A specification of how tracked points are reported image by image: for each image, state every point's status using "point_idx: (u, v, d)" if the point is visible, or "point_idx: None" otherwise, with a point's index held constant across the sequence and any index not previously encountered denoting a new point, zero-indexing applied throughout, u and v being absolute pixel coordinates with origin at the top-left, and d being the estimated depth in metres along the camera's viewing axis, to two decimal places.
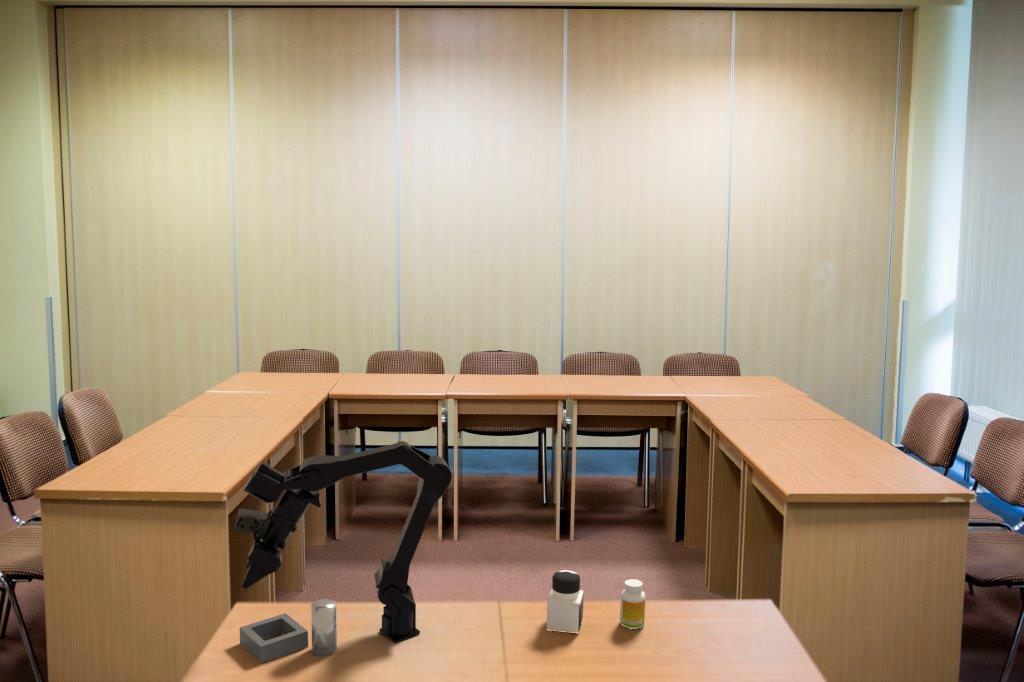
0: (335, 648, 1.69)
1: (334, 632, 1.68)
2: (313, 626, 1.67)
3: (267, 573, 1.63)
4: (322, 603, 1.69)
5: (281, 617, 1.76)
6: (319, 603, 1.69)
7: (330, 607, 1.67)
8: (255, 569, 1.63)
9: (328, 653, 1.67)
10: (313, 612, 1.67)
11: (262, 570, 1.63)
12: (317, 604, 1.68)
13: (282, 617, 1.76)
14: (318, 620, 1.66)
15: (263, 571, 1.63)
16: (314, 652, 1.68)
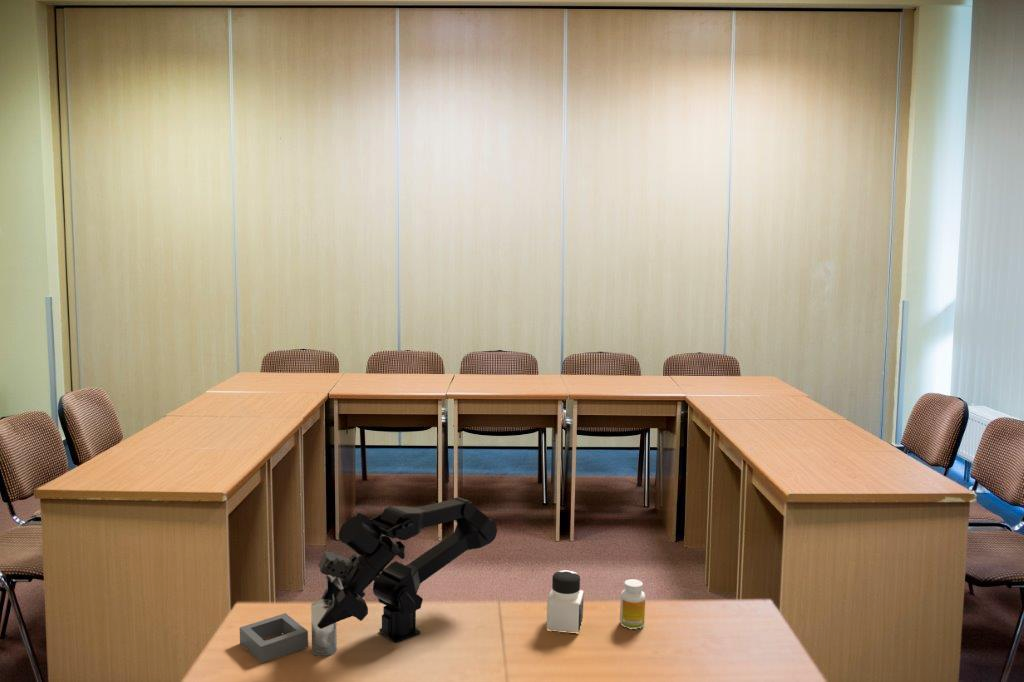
0: (335, 648, 1.69)
1: (334, 632, 1.68)
2: (312, 626, 1.67)
3: (347, 616, 1.66)
4: (322, 602, 1.69)
5: (281, 617, 1.76)
6: (319, 603, 1.69)
7: None
8: (335, 611, 1.65)
9: (328, 653, 1.67)
10: (313, 612, 1.67)
11: (342, 612, 1.66)
12: (317, 604, 1.68)
13: (282, 617, 1.76)
14: (318, 620, 1.66)
15: (343, 613, 1.65)
16: (314, 652, 1.68)
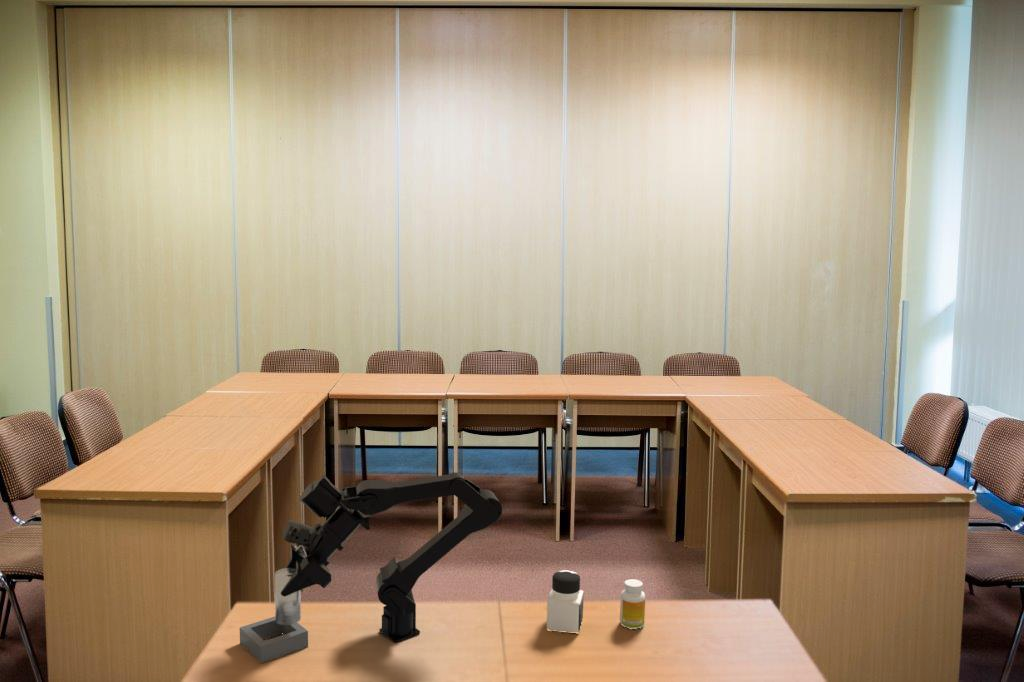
0: (299, 616, 1.69)
1: (298, 600, 1.68)
2: (276, 594, 1.67)
3: (310, 584, 1.66)
4: (286, 571, 1.69)
5: None
6: (283, 571, 1.69)
7: None
8: (299, 579, 1.65)
9: (291, 621, 1.67)
10: (277, 580, 1.66)
11: (306, 580, 1.66)
12: (281, 572, 1.68)
13: None
14: (281, 588, 1.66)
15: (307, 581, 1.66)
16: (277, 620, 1.68)
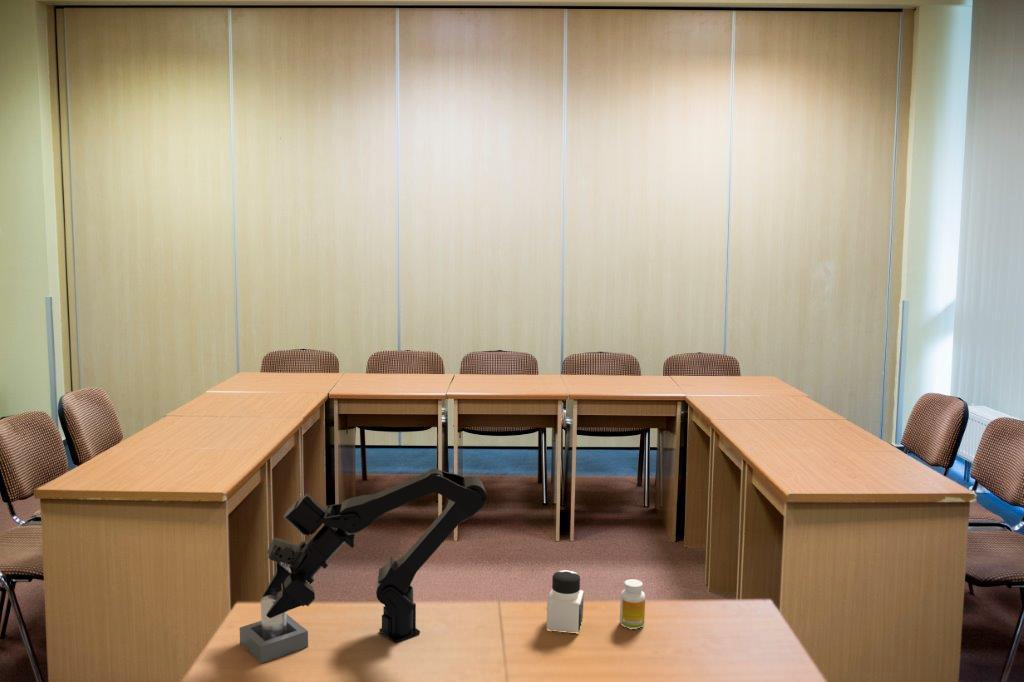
0: None
1: (284, 626, 1.70)
2: (262, 621, 1.69)
3: (296, 605, 1.65)
4: (271, 597, 1.71)
5: None
6: (269, 598, 1.70)
7: None
8: (284, 600, 1.65)
9: None
10: (262, 607, 1.68)
11: (291, 602, 1.65)
12: (267, 599, 1.70)
13: None
14: None
15: (292, 603, 1.65)
16: None
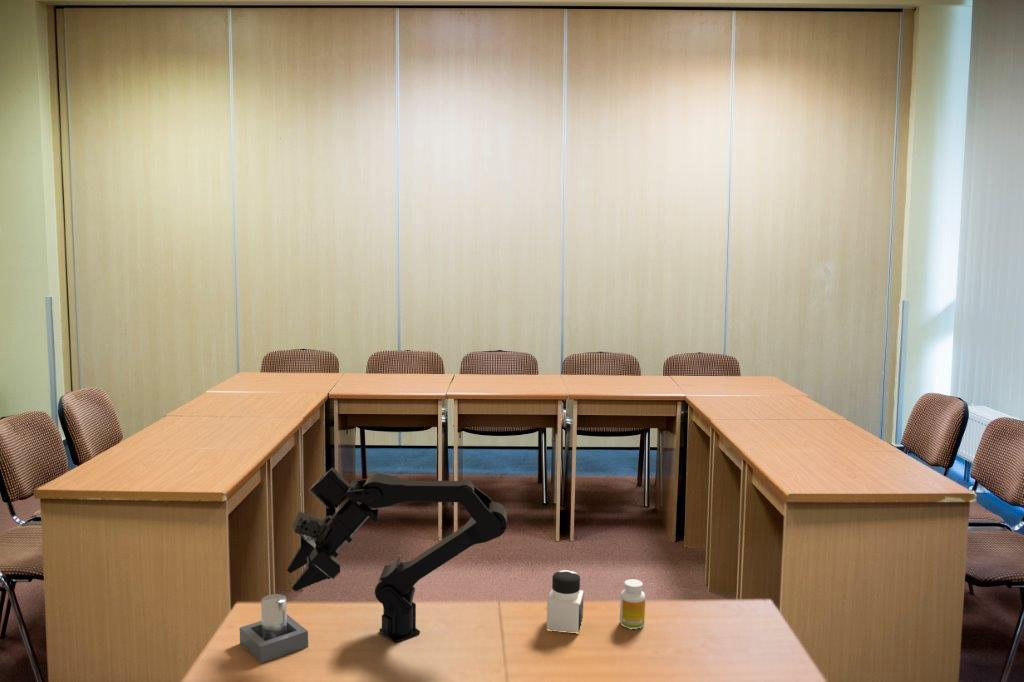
0: None
1: (284, 627, 1.70)
2: (262, 621, 1.69)
3: (321, 579, 1.66)
4: (272, 598, 1.71)
5: None
6: (269, 598, 1.70)
7: (279, 602, 1.69)
8: (310, 573, 1.66)
9: None
10: (263, 607, 1.68)
11: (317, 575, 1.66)
12: (267, 599, 1.70)
13: None
14: (267, 615, 1.68)
15: (318, 576, 1.66)
16: None
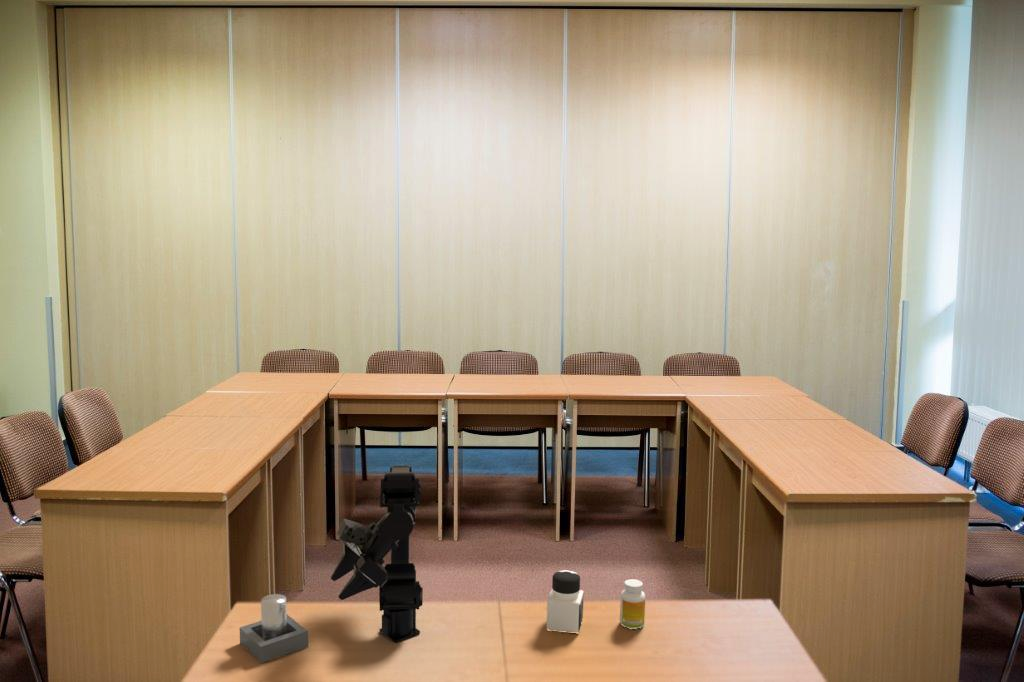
0: None
1: (284, 627, 1.70)
2: (262, 621, 1.69)
3: (368, 587, 1.63)
4: (272, 598, 1.71)
5: None
6: (269, 598, 1.70)
7: (279, 602, 1.69)
8: (357, 582, 1.63)
9: None
10: (262, 607, 1.68)
11: (364, 583, 1.63)
12: (267, 599, 1.70)
13: None
14: (267, 615, 1.68)
15: (365, 584, 1.63)
16: None
